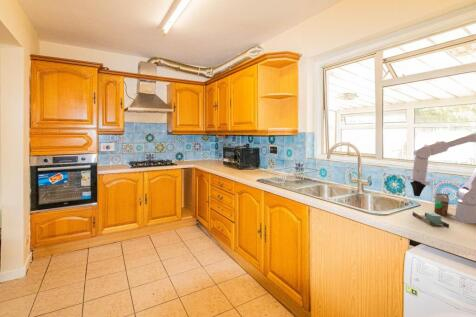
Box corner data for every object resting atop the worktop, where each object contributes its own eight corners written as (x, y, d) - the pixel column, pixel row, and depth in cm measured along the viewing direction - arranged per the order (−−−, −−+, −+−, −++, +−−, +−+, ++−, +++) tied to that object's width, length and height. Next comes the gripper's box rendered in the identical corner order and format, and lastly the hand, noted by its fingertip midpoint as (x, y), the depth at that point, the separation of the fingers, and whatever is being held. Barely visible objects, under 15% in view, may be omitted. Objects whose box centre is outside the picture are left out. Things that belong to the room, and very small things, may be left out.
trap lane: (425, 216, 125) (425, 212, 125) (448, 228, 110) (449, 224, 110) (412, 215, 126) (412, 212, 125) (433, 227, 110) (434, 223, 110)
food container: (431, 209, 137) (434, 191, 136) (446, 211, 133) (448, 193, 132) (431, 214, 128) (433, 196, 127) (446, 217, 124) (449, 198, 123)
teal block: (434, 221, 117) (435, 213, 117) (440, 224, 113) (441, 216, 113) (425, 220, 117) (426, 212, 117) (431, 224, 113) (432, 215, 113)
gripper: (403, 167, 134) (400, 192, 135) (420, 172, 119) (417, 199, 121) (417, 168, 133) (414, 192, 135) (436, 172, 119) (432, 200, 120)
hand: (416, 196), depth 128 cm, fingers closed
